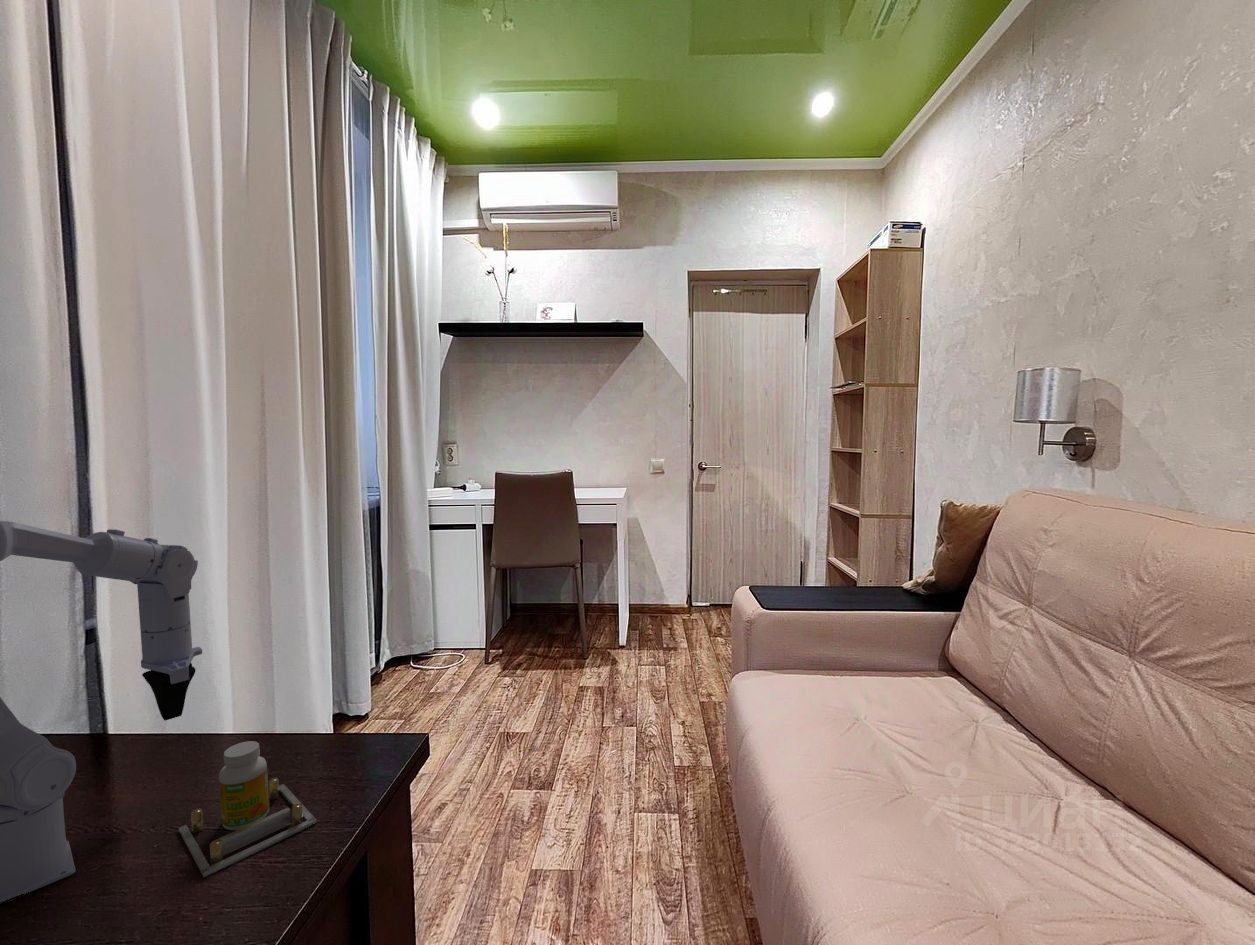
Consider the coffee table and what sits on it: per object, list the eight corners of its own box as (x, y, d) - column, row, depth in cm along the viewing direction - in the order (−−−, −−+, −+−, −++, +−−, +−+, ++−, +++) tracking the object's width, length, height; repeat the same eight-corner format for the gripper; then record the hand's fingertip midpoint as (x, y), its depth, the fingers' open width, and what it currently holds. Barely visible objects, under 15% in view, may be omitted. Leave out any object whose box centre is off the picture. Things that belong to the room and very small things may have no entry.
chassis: (203, 877, 68) (202, 857, 67) (179, 831, 76) (177, 813, 75) (316, 823, 77) (315, 805, 77) (283, 787, 85) (282, 770, 85)
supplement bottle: (221, 837, 74) (216, 765, 74) (222, 815, 79) (217, 746, 78) (270, 821, 77) (266, 751, 77) (268, 800, 82) (264, 734, 81)
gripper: (212, 629, 82) (218, 722, 83) (187, 610, 92) (192, 693, 93) (149, 643, 77) (156, 742, 78) (129, 621, 87) (135, 709, 88)
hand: (172, 716), depth 85 cm, fingers closed
